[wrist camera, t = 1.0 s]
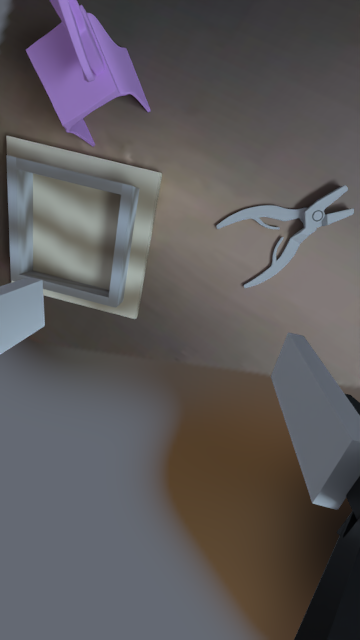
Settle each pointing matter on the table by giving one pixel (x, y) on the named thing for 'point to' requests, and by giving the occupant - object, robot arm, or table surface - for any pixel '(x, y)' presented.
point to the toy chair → (82, 67)
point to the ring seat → (80, 225)
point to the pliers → (308, 216)
